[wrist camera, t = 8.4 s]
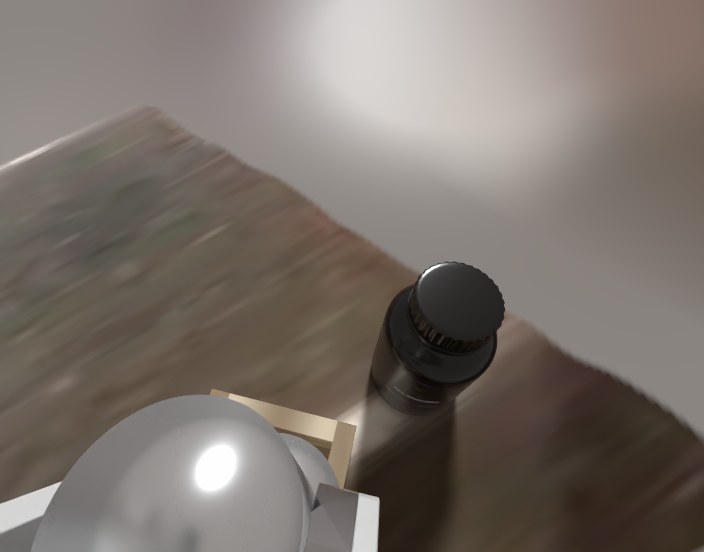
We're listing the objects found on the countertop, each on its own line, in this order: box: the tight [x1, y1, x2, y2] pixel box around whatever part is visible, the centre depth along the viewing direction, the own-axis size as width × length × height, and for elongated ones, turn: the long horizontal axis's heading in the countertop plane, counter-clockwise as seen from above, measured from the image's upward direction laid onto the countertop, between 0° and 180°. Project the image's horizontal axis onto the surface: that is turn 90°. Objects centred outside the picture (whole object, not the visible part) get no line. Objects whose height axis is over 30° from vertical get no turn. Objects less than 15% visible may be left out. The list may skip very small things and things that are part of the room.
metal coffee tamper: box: [31, 395, 340, 552], centre depth 9 cm, size 5×5×11 cm
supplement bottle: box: [372, 262, 505, 415], centre depth 23 cm, size 7×7×12 cm
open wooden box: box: [210, 389, 357, 488], centre depth 22 cm, size 9×9×4 cm
